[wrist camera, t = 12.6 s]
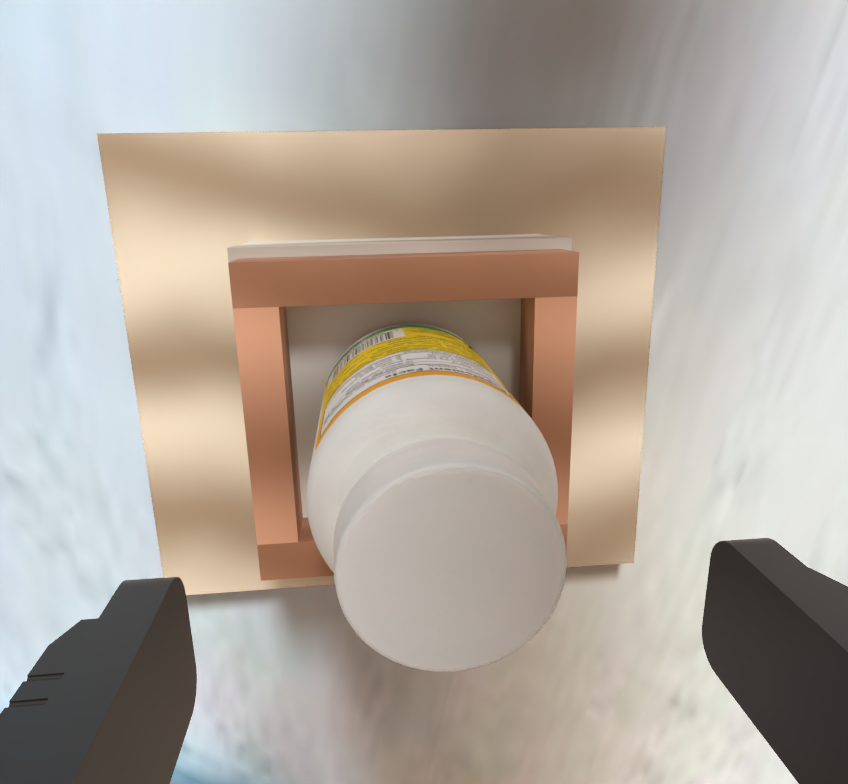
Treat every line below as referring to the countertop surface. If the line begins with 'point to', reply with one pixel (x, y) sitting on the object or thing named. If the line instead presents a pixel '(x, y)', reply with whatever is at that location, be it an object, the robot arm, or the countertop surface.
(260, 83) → the countertop surface
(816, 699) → the robot arm
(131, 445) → the countertop surface
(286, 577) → the tower base
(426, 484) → the supplement bottle
